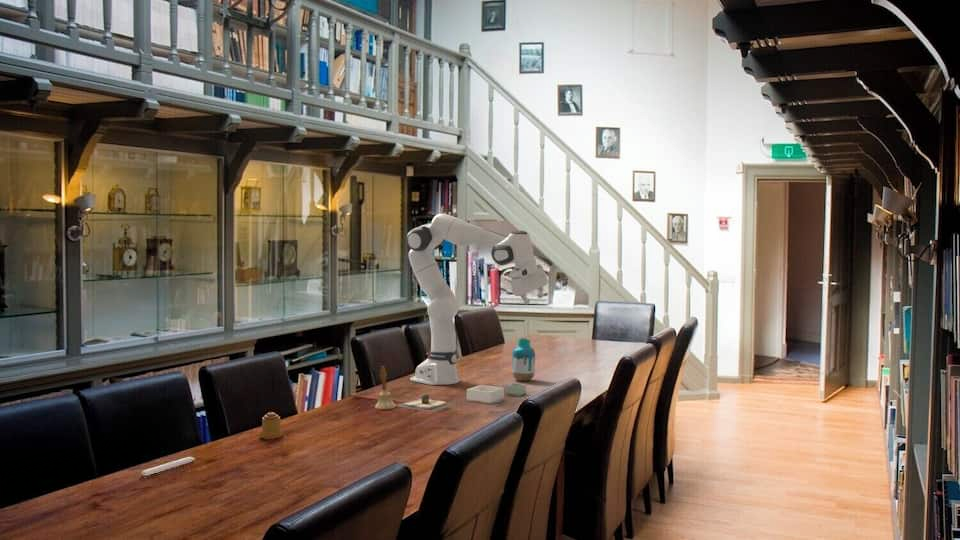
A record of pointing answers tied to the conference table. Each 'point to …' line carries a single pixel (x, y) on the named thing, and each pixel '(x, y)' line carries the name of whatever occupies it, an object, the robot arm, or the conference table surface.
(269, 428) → the ornamental finial
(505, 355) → the conference table surface
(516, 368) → the vase
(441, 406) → the mat
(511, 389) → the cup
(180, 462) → the marker
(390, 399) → the hand bell
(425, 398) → the lid
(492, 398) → the dish
